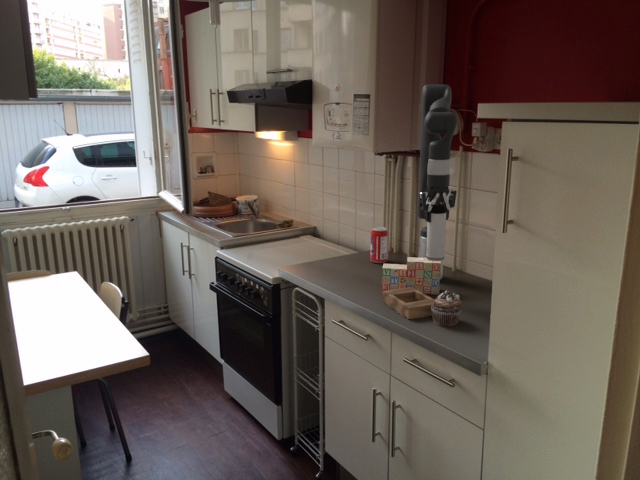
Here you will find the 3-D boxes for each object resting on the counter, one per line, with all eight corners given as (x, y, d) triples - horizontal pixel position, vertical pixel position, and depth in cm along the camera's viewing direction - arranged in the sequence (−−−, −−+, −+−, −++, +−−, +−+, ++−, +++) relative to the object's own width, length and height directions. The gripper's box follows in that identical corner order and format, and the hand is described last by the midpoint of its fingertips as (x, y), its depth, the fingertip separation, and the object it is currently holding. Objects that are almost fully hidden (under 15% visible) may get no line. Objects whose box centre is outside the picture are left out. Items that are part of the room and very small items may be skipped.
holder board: (382, 301, 195) (382, 291, 194) (411, 297, 200) (411, 286, 199) (408, 319, 179) (408, 308, 178) (439, 314, 183) (440, 302, 182)
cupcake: (439, 313, 184) (440, 285, 181) (466, 320, 178) (467, 291, 175) (424, 322, 177) (425, 292, 174) (451, 330, 171) (453, 299, 168)
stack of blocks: (381, 291, 206) (382, 260, 203) (382, 286, 212) (383, 255, 209) (439, 294, 202) (441, 262, 199) (439, 289, 208) (440, 258, 205)
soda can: (383, 264, 240) (384, 231, 236) (367, 262, 244) (367, 229, 240) (390, 260, 246) (391, 227, 243) (374, 258, 250) (375, 226, 247)
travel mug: (422, 258, 194) (423, 202, 189) (433, 255, 198) (435, 200, 193) (436, 262, 189) (438, 205, 184) (448, 258, 193) (450, 202, 188)
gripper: (450, 170, 192) (447, 217, 196) (414, 172, 187) (412, 220, 191) (463, 172, 185) (460, 221, 189) (426, 175, 180) (424, 225, 184)
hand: (436, 220), depth 190 cm, fingers closed on travel mug, 6 cm apart
